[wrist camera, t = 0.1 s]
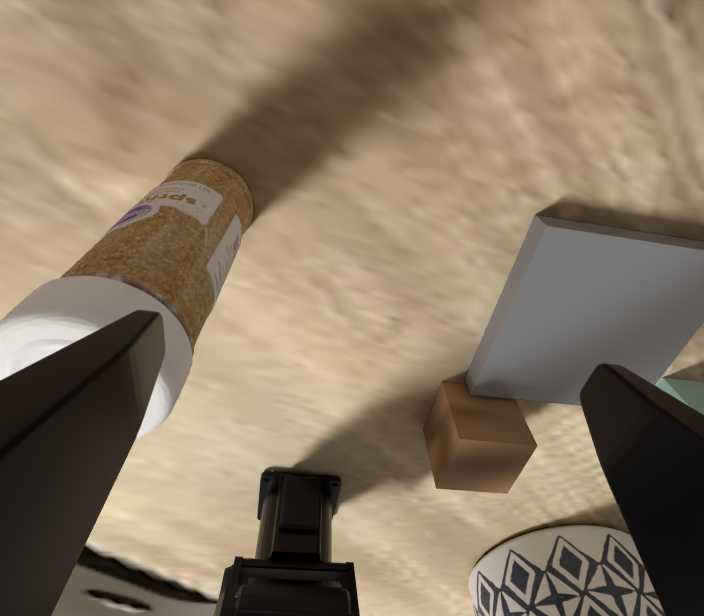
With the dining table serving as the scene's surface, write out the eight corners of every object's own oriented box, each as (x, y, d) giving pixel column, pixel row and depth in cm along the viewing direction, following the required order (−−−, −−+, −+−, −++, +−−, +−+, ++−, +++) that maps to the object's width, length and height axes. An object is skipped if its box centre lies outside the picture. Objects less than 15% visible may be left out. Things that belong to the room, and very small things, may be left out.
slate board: (622, 395, 31) (634, 411, 29) (464, 378, 29) (470, 394, 28) (731, 245, 24) (753, 258, 23) (535, 214, 23) (547, 225, 21)
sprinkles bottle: (203, 136, 20) (33, 278, 9) (273, 206, 22) (210, 396, 11) (144, 198, 21) (-63, 387, 10) (216, 258, 23) (107, 472, 12)
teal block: (678, 419, 32) (718, 464, 29) (631, 415, 32) (666, 460, 29) (711, 382, 30) (758, 426, 27) (661, 376, 30) (702, 420, 26)
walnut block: (485, 433, 33) (507, 493, 28) (422, 428, 32) (436, 488, 28) (509, 387, 30) (537, 445, 26) (441, 380, 29) (459, 439, 25)
